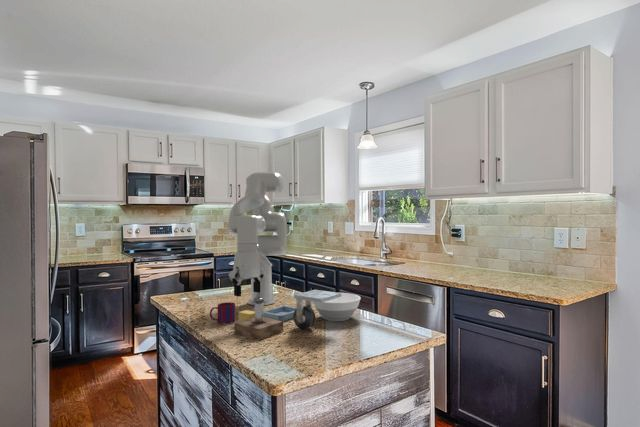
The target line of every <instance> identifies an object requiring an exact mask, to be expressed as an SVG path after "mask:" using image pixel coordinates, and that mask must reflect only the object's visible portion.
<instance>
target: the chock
mask: <svg viewBox="0 0 640 427" xmlns="http://www.w3.org/2000/svg"><path fill="white" fill-rule="evenodd" d="M237 315H238V317H237V318H238V319H237V320H238V321H237V323H238V322H241V321H245V320H248V319H252V318H255V310H254V311H252V310H248V309H245V310H241V311H238V314H237Z"/></svg>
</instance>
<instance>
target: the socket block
mask: <svg viewBox="0 0 640 427" xmlns="http://www.w3.org/2000/svg"><path fill="white" fill-rule="evenodd" d="M282 332H284V322H283V321H279V320H274V319H270V318H265V317H263V324H260V325H258V324H255V318H252V319H248V320H245V321H241V322H238V321H237V322H234V334H235V335H240V336H244V337H247V338H251V339H255V340H262V339H264V338H267V337H271V336H273V335H277V334H279V333H282Z"/></svg>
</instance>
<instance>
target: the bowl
mask: <svg viewBox="0 0 640 427" xmlns="http://www.w3.org/2000/svg"><path fill="white" fill-rule="evenodd" d="M340 293H341V297H338V298H335V299H332V300H328V301H325V302H322V303H321V302H315V301H312V304H314V307H315V308H316V310H317V312H318V314H319V315H320V317H322V319H323V320H325V321H329V322H345V321H348V320H350V319H351V317H352V316H353V315H354V314H355V312H356V311H357V309H358V308H359V305H360V301H361V298H362V297H361V296H360V295H359V294H358V295H357V294H354V293H347V292H340Z"/></svg>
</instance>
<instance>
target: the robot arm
mask: <svg viewBox="0 0 640 427" xmlns="http://www.w3.org/2000/svg"><path fill="white" fill-rule="evenodd" d="M245 182H246V183H245V184H246V188H245V193H244V196H242V197H241V198H240V199H239V200H237V202H235V203H234V204H233V205H232V207H231V210H230V213H229V218H228V230H229V232H230V233H231V234H233V235H237V236H236V240H237V241H236V249H237V251H236V252H235V253H234V258H233V266H232V270H231V271H230V272H229V273H228V274H227V275H228V277H229V280H230V281H229V282H231V284H232V285H233V296H235V297H242V285H241V284H242V281H243V280H250V288H251V289H250V297H251V298H250V299H248V300H247V304H248V305H251V306H255V302H254V298H257V297H263V298H264V302H263V306H268V305H269V306H270V305H272V304H275V303H276V299H275V298H274V297H277V296H279V292H278V291H274V292H273V289H272V286H273V285H272V282H273V280H272V263H271V262H270V259H268V257H267V256H270V257H271V256H283V255H285V254H286V252H287V249H288V248H287V246H288V245H287V244H288V243H287V238H288V236H287V234H288V232H287V231H288V229H287V217H286V215H285V214H284V212H279V211H275V212H272V207H271V205H272V204H271V203H272V202H271V200H270V198H269V197H268V196H267V195H266V193H281V192H282V191H283V189H284V186H285V182H284V177H283V175H282V174H280V173H278V172H270V171H269V172H267V171H266V172H262V171H261V172H258V171H257V172H253V173H250V175H248V176H247V177H246V181H245ZM251 211H252V214H245V213H248V212H251ZM262 233H276V234H274V235H273V234H262Z"/></svg>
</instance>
